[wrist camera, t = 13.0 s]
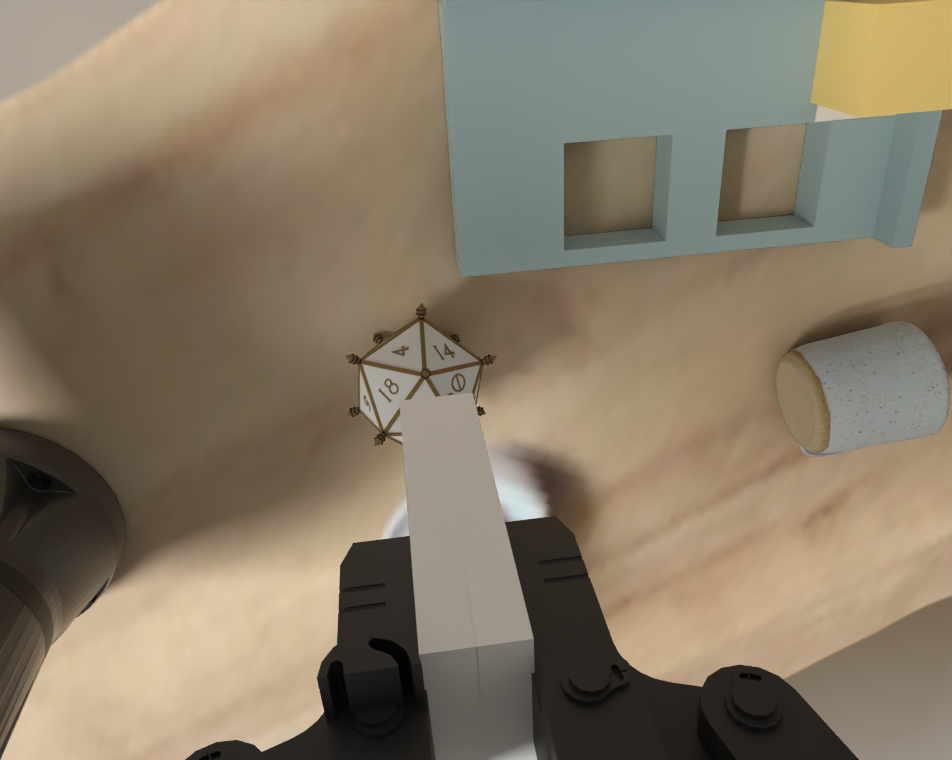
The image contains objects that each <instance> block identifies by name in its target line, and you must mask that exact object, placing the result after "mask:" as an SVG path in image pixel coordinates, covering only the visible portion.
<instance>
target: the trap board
mask: <svg viewBox="0 0 952 760" xmlns="http://www.w3.org/2000/svg"><path fill="white" fill-rule="evenodd" d="M438 7H439V21H440V36H441V50H442V64H443V79H444V93H445V107H446V121H447V136H448V150H449V164H450V179H451V193H452V207H453V221H454V236H455V250H456V263H457V266H458V269H459V273H460V276H461V277H469V276H479V275H490V274H500V273H510V272H521V271H531V270H541V269H552V268H562V267H572V266H583V265H593V264H603V263H613V262H624V261H634V260H644V259H655V258H665V257H675V256H686V255H696V254H706V253H717V252H727V251H737V250H747V249H758V248H768V247H778V246H789V245H799V244H809V243H820V242H830V241H840V240H851V239H861V238H871V237H873V238H874V239H876V240H878V241H880V242H882V243H884V244H885V245H887V246H889V247H891V248H900V247H910V246H912V244H913V240H914V235H915V231H916V226H917V222H918V218H919V213H920V209H921V204H922V200H923V196H924V191H925V187H926V182H927V178H928V174H929V169H930V165H931V160H932V156H933V152H934V147H935V143H936V138H937V134H938V130H939V125H940V121H941V116H942V112H943V110H935V111H924V112H913V113H902V114H890V115H879V116H868V117H855V116H852V115H849V114H846V113H842V112H839V111H836V110H832V109H829V108H826V107H822V106H819V105H816V104H813V103H810V102H811V96H812V89H813V82H814V75H815V68H816V62H817V55H818V48H819V41H820V34H821V27H822V21H823V14H824V7H825V0H438ZM803 123H807V129H806V136H805V142H804V149H803V156H802V163H801V169H800V176H799V183H798V190H797V197H796V203H795V210H794V215H786V216H775V217H764V218H754V219H743V220H732V221H722V222H717V220H718V210H719V200H720V190H721V180H722V170H723V160H724V149H725V139H726V130H731V129H743V128H755V127H767V126H779V125H791V124H803ZM647 136H657V147H656V164H655V181H654V199H653V216H652V228H647V229H636V230H626V231H615V232H604V233H594V234H583V235H572V236H564V143H575V142H587V141H599V140H611V139H623V138H635V137H647Z"/></svg>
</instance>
